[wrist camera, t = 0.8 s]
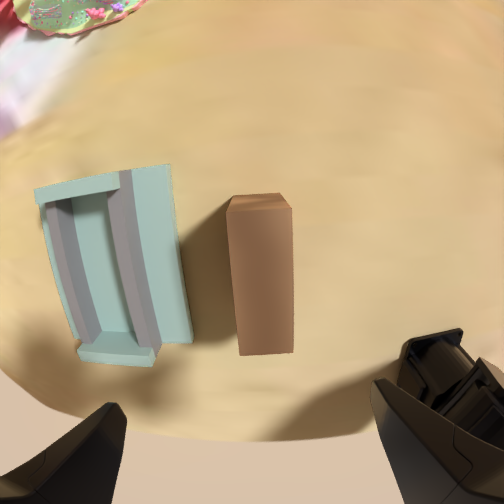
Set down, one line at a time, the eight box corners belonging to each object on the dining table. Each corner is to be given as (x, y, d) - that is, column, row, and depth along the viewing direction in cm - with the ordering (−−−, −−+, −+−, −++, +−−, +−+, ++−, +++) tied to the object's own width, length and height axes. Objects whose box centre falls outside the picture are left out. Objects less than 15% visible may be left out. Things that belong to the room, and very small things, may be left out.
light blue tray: (170, 163, 18) (150, 166, 14) (194, 335, 22) (184, 368, 18) (44, 187, 18) (12, 195, 15) (79, 332, 22) (58, 357, 19)
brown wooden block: (279, 192, 19) (291, 208, 13) (283, 303, 21) (293, 352, 16) (233, 195, 19) (225, 212, 13) (242, 305, 22) (239, 355, 16)
